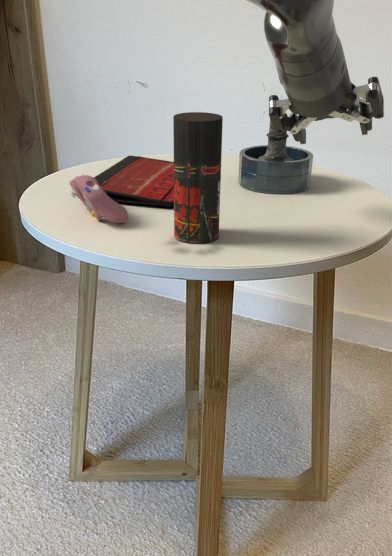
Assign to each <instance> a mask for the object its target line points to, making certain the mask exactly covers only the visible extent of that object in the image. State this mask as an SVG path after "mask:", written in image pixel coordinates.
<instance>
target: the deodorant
mask: <svg viewBox="0 0 392 556" xmlns="http://www.w3.org/2000/svg"><path fill="white" fill-rule="evenodd" d="M223 119H224V117H223V115H221V114H219V113H218V114H217V113H214V112H203V111H191V112H188V111H187V112H181V113H177V114H174V115H173V119H172V123H173V162H174V207H173V236H174V238H175V239H176V240H177V241H178V242H181V243H185V244H191V245H197V244H198V245H201V244H208V243H213V242H215V241H217V240H218V239H219V237H220V214H221V213H220V211H221V209H220V208H221V185H222V184H221V183H222V182H221V180H222V178H221V177H222V153H223V152H222V151H223V150H222V149H223V125H224V123H223V122H224V121H223Z"/></svg>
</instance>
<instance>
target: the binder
mask: <svg viewBox="0 0 392 556" xmlns="http://www.w3.org/2000/svg"><path fill="white" fill-rule="evenodd" d="M93 177H94V178H95V179H96V180H97V181H98V183H99V186H100V187H101V188H102V189H103V190H104V191H105V193H106V194H107V195H108V196H109V197H110V198H111V199H112V200H114V201H115V202H117V203H124V204H125V203H126V204H138V205H139V204H140V205H149V206H150V205H151V206H156V207H173V208H174V161H170V160H164V159H158V158H151V157H145V156H140V155H127V156H125V157H124V158H122V159H121V160H119V161H118V162H116V163H115V164H113V165H112V166H110V167H108V168H107V169H105V170H104V171H102V172H101V173H98V174H97V175H95V176H93Z"/></svg>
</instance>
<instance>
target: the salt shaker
mask: <svg viewBox="0 0 392 556" xmlns="http://www.w3.org/2000/svg"><path fill="white" fill-rule="evenodd" d="M284 117H289V115H288V113H285V114H284ZM266 137H267V145H268V148H267V151H266V154H265V155H264V156H260V157H259V158H258V159H259V160H266V161H294V160H293V159H292V158H291V157H288V156H287V153H286V146H287V140H288V138H289V137H290V135H289V134H288V131H284V133H283V134H276V133H275V130H274V127H273V125H272V122H271V120H270V119H269V129H268V133H266Z"/></svg>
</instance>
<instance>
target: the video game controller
mask: <svg viewBox="0 0 392 556" xmlns="http://www.w3.org/2000/svg"><path fill="white" fill-rule="evenodd" d="M94 177H95V176H91V175H86V174H84V173H81V175H79V176H78V175H76V176H75V177H73V178H72V179H70V181H69V185H70V187H71V190H69V195H70V196H71V197H72V198H74V199H76V198H78V199H79V200H80V201H81V203H82V204H83V205H84V207H85V208H86V210H87V211H88V212H89V214H90V216H91V217H92V218H95V219H96V220H97V221H98V222H99V221H101V220H102V219H105V220H107V221H109V222H112V223H116V224H124V223H127V221H128V219H129V213H128V211H127V209H126V208H125V207H124V206H123V205H121V204H120V203H119V202H115V201H114V200H112V199H111V198H110V197H109V196H108V195H107V194H106V193H105V191H104V190H103V189H102V188H101V187H100V186H99V183H98V181H97V180H96V179H95V178H94Z"/></svg>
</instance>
